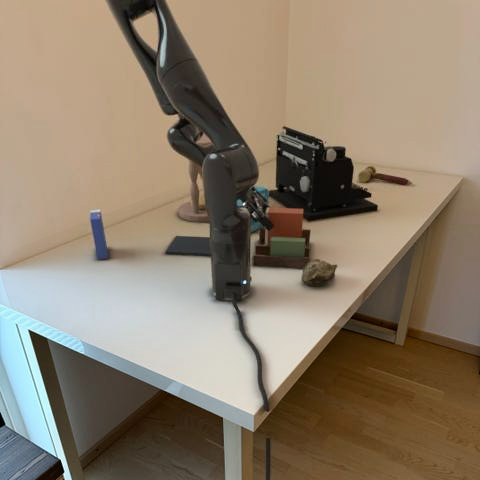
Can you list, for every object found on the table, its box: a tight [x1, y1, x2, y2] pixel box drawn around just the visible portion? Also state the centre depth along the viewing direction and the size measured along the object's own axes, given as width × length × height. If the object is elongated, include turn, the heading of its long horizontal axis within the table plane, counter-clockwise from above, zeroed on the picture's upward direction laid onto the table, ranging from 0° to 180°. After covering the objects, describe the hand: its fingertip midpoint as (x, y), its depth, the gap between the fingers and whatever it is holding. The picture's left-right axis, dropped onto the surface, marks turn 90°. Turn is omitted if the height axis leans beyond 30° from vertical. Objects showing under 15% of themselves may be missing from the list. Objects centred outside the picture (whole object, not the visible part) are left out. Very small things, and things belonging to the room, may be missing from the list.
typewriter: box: [268, 125, 379, 223], centre depth 163 cm, size 31×27×25 cm
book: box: [264, 207, 304, 245], centre depth 130 cm, size 4×10×12 cm, turn 82°
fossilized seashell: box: [301, 258, 338, 287], centre depth 116 cm, size 8×7×10 cm
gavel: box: [357, 165, 413, 186], centre depth 191 cm, size 21×5×10 cm
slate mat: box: [164, 235, 211, 257], centre depth 136 cm, size 12×20×1 cm, turn 82°
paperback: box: [270, 237, 306, 257], centre depth 124 cm, size 2×9×7 cm, turn 82°
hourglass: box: [177, 134, 212, 223], centre depth 154 cm, size 18×18×25 cm
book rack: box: [252, 227, 311, 269], centre depth 130 cm, size 17×15×4 cm
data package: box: [237, 185, 270, 233], centre depth 145 cm, size 12×4×12 cm, turn 142°
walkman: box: [89, 209, 109, 260], centre depth 129 cm, size 8×3×12 cm, turn 14°
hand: (272, 222), depth 129 cm, fingers open, 8 cm apart
